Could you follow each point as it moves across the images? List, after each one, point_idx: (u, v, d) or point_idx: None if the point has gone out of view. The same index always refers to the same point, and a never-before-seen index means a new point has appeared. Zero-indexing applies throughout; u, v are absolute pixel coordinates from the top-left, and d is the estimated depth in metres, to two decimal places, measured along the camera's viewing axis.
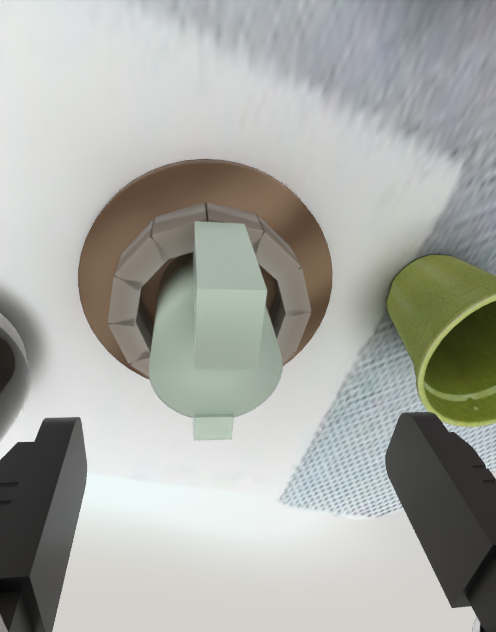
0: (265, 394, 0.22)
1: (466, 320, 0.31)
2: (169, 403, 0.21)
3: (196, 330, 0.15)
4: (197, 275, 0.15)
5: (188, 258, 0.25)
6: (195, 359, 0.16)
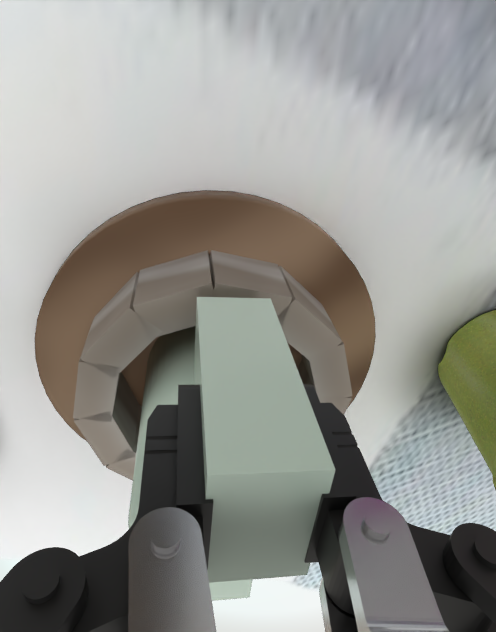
0: None
1: None
2: None
3: None
4: (206, 433, 0.09)
5: (186, 331, 0.18)
6: None
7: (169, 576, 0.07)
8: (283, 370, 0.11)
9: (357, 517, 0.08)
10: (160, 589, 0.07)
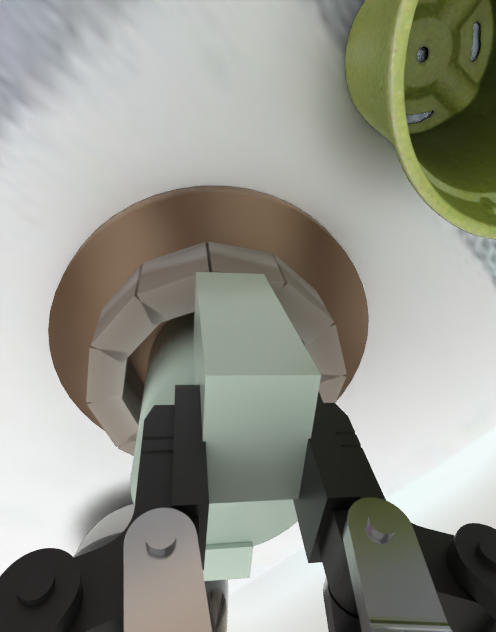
0: None
1: None
2: None
3: None
4: (205, 351, 0.10)
5: (186, 321, 0.19)
6: None
7: (165, 577, 0.07)
8: (275, 316, 0.12)
9: (361, 517, 0.08)
10: (154, 590, 0.06)
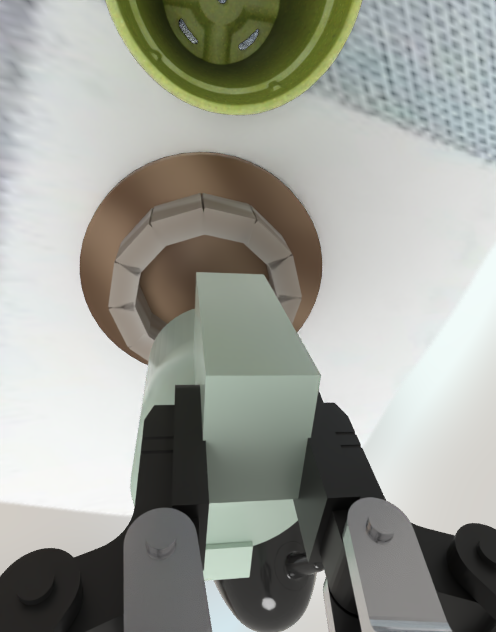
0: None
1: None
2: None
3: None
4: (205, 351, 0.10)
5: (186, 321, 0.19)
6: None
7: (165, 577, 0.07)
8: (275, 317, 0.12)
9: (361, 517, 0.08)
10: (155, 590, 0.06)
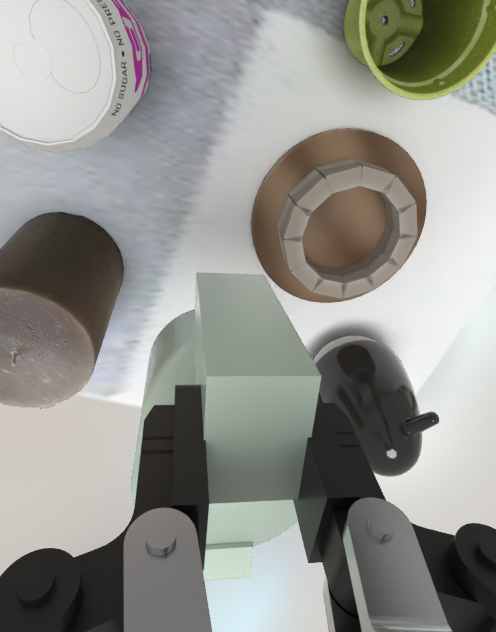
0: None
1: None
2: None
3: None
4: (206, 352, 0.10)
5: (187, 321, 0.19)
6: None
7: (165, 577, 0.07)
8: (275, 317, 0.12)
9: (361, 517, 0.08)
10: (154, 590, 0.06)
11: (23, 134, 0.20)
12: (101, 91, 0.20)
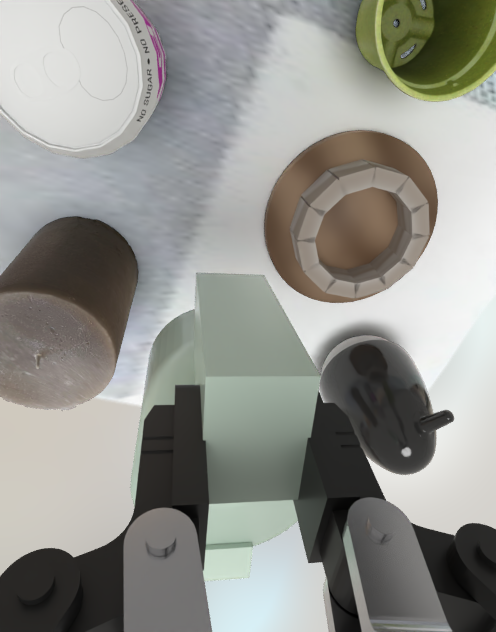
0: None
1: None
2: None
3: None
4: (205, 352, 0.10)
5: (186, 321, 0.19)
6: None
7: (165, 578, 0.07)
8: (274, 317, 0.12)
9: (361, 517, 0.08)
10: (154, 590, 0.06)
11: (51, 141, 0.21)
12: (127, 98, 0.20)
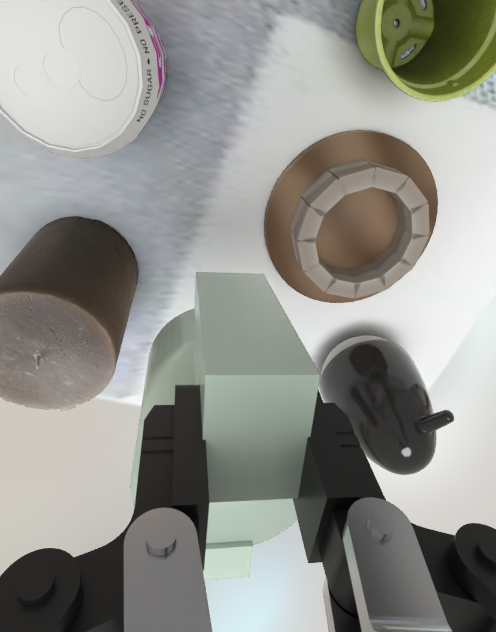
0: None
1: None
2: None
3: None
4: (204, 351, 0.10)
5: (186, 321, 0.19)
6: None
7: (165, 577, 0.07)
8: (274, 316, 0.12)
9: (361, 517, 0.08)
10: (155, 590, 0.06)
11: (51, 141, 0.21)
12: (127, 98, 0.20)
